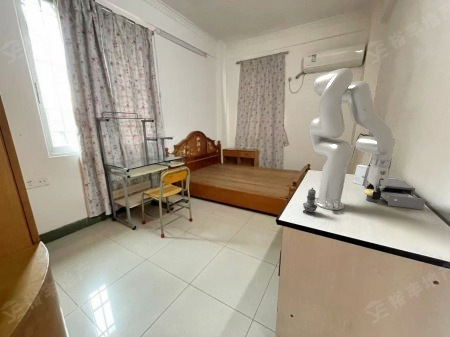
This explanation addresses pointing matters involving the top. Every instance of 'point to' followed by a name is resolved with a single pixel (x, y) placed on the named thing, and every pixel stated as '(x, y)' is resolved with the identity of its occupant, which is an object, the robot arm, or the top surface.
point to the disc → (369, 192)
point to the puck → (370, 199)
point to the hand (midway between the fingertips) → (372, 196)
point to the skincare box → (361, 174)
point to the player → (396, 186)
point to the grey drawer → (403, 200)
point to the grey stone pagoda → (310, 203)
